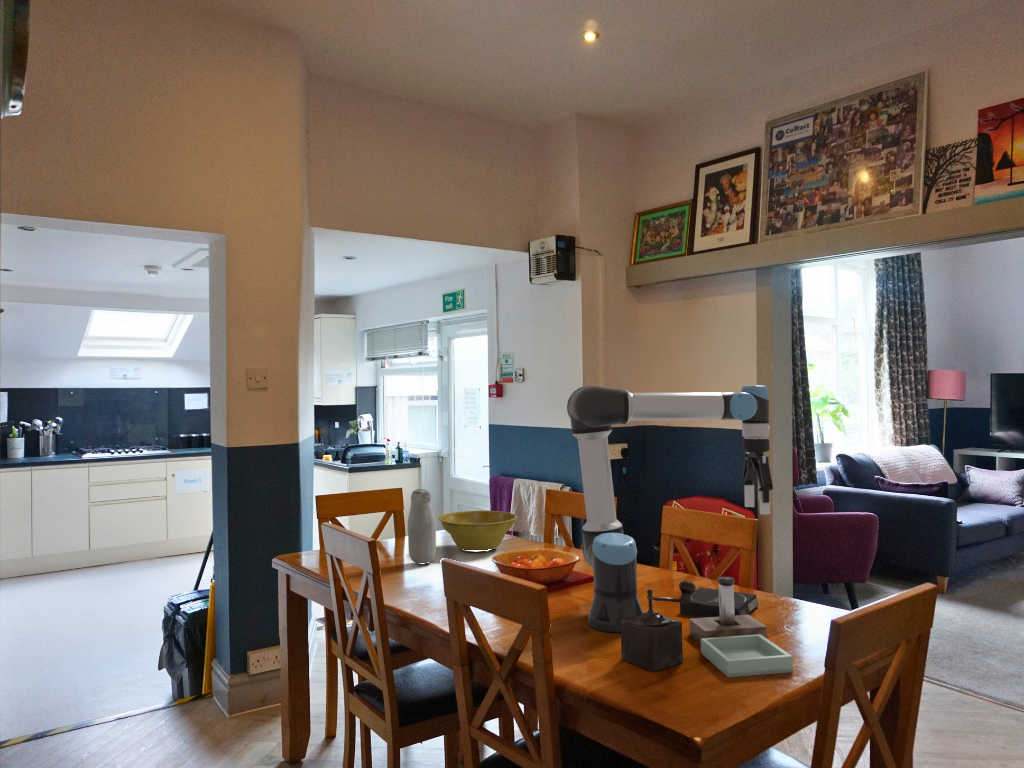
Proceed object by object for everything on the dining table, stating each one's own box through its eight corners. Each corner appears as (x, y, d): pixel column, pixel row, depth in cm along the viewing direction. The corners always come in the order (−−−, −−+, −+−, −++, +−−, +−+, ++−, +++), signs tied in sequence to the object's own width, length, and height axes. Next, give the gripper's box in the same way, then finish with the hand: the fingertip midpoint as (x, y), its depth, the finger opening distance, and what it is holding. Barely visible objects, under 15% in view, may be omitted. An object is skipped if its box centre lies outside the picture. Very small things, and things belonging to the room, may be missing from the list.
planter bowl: (532, 545, 302) (531, 513, 302) (489, 561, 275) (488, 525, 275) (469, 538, 319) (468, 508, 319) (422, 553, 292) (421, 519, 292)
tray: (728, 677, 158) (727, 661, 158) (701, 653, 173) (700, 638, 173) (792, 672, 160) (792, 656, 160) (760, 648, 175) (760, 634, 175)
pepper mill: (654, 673, 161) (652, 592, 162) (620, 659, 170) (618, 582, 171) (701, 658, 170) (699, 581, 170) (666, 645, 179) (664, 572, 179)
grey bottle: (441, 562, 275) (439, 488, 275) (424, 568, 266) (422, 491, 266) (421, 559, 280) (419, 487, 280) (403, 565, 271) (401, 490, 272)
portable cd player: (740, 624, 195) (740, 609, 195) (680, 614, 205) (679, 600, 205) (758, 608, 209) (758, 594, 209) (701, 600, 218) (700, 587, 218)
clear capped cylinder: (723, 641, 181) (721, 581, 181) (716, 636, 185) (715, 577, 185) (738, 640, 181) (737, 580, 181) (731, 635, 185) (730, 576, 185)
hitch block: (705, 647, 177) (704, 631, 177) (689, 634, 187) (689, 618, 187) (767, 642, 179) (766, 626, 179) (748, 630, 189) (748, 614, 189)
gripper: (784, 440, 201) (785, 517, 201) (754, 435, 226) (755, 503, 226) (757, 440, 201) (758, 517, 201) (730, 435, 226) (731, 504, 226)
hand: (757, 510), depth 213 cm, fingers open, 13 cm apart
